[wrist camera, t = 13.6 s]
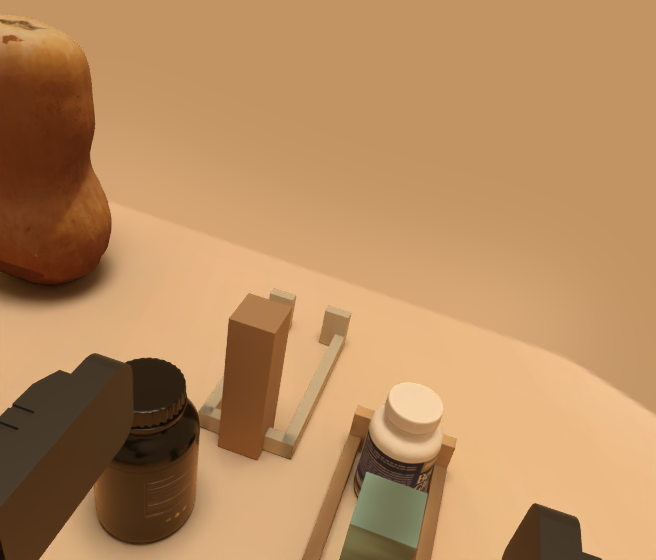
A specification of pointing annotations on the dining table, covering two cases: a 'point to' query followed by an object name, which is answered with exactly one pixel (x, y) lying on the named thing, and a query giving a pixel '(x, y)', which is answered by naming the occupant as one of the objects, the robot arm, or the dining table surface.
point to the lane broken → (265, 376)
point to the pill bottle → (403, 437)
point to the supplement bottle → (152, 459)
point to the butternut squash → (47, 157)
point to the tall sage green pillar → (382, 507)
